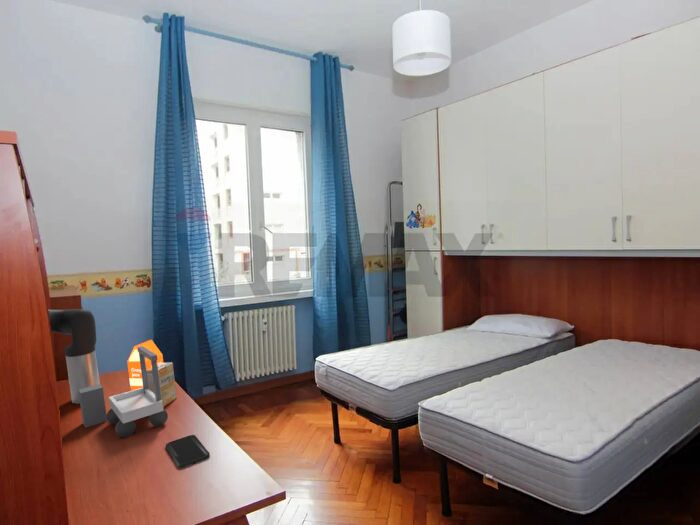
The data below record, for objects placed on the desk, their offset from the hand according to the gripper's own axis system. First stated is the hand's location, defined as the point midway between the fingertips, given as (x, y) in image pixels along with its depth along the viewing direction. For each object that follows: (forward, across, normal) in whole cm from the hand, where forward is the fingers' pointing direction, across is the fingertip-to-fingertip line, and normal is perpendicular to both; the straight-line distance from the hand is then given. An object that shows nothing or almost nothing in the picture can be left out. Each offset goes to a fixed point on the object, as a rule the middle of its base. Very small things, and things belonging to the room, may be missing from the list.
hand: (43, 394), depth 128 cm
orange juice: (+30, +8, +13) cm, 34 cm away
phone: (+26, -42, +14) cm, 51 cm away
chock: (+12, 0, +13) cm, 18 cm away
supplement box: (+32, -2, +13) cm, 35 cm away
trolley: (+22, -13, +13) cm, 28 cm away
